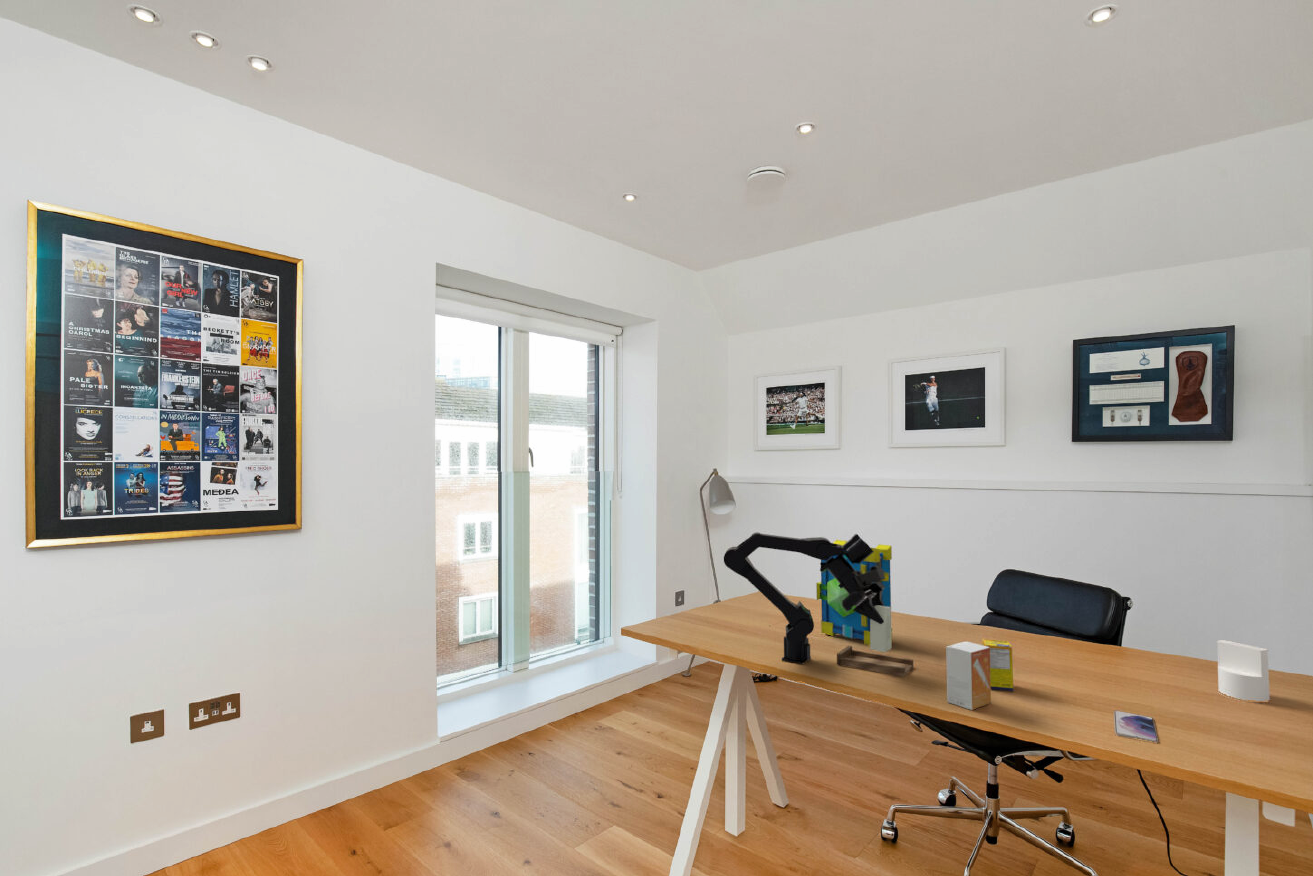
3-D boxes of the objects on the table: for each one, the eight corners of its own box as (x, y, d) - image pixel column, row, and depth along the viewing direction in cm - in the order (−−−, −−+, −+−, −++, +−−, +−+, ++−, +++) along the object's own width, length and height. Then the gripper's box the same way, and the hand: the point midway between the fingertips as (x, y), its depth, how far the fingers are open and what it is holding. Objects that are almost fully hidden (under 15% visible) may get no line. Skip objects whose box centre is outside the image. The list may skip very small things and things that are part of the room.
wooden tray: (836, 664, 177) (836, 653, 177) (848, 656, 185) (848, 645, 185) (904, 677, 166) (904, 665, 166) (913, 667, 174) (913, 656, 174)
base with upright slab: (1210, 692, 154) (1208, 642, 155) (1231, 687, 158) (1229, 638, 159) (1257, 705, 146) (1255, 652, 147) (1278, 699, 150) (1275, 648, 150)
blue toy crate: (838, 627, 217) (837, 539, 218) (902, 642, 199) (900, 545, 200) (813, 634, 208) (811, 542, 209) (877, 650, 190) (875, 549, 191)
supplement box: (1009, 684, 161) (1007, 640, 161) (1013, 692, 155) (1012, 646, 156) (982, 681, 163) (981, 638, 163) (986, 689, 157) (985, 644, 158)
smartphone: (1153, 717, 139) (1158, 742, 126) (1153, 721, 139) (1158, 746, 126) (1113, 709, 143) (1114, 732, 130) (1113, 713, 143) (1114, 737, 130)
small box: (972, 711, 143) (971, 652, 144) (946, 702, 149) (945, 645, 149) (992, 703, 148) (990, 646, 148) (966, 695, 153) (964, 640, 154)
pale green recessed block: (870, 649, 171) (870, 608, 172) (876, 645, 175) (876, 605, 176) (885, 652, 169) (885, 610, 169) (891, 648, 173) (891, 607, 173)
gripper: (853, 560, 168) (896, 609, 161) (877, 553, 183) (917, 597, 176) (825, 587, 173) (865, 635, 165) (850, 577, 187) (889, 621, 180)
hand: (885, 621), depth 172 cm, fingers closed on pale green recessed block, 5 cm apart
